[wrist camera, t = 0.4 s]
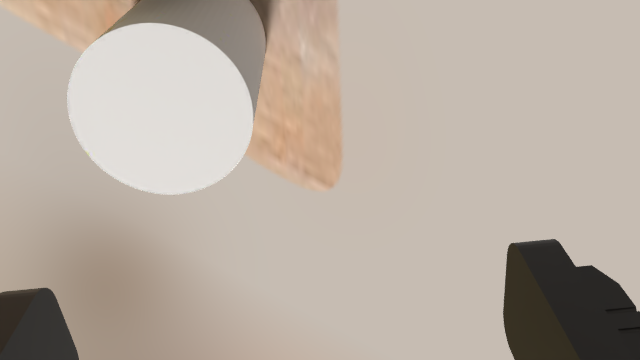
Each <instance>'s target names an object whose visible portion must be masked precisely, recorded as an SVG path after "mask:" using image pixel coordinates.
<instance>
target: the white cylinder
mask: <svg viewBox="0 0 640 360" xmlns="http://www.w3.org/2000/svg"><path fill="white" fill-rule="evenodd" d="M265 51H266V38H265V31H264V27H263V24H262V21H261V19H260V16H259V14H258V12H257V11H256V9H255V7H254V6H253V4H252V3H251V2H250V1H249V0H141V1H139V2H138V3H137V4H136V5H135V6H134V7H133V8H132V9H130V10H129V11H128V12H127V13H126V14H125V15H124V16H123V17H122V18H120V19H119V20H118V21H117V22H116V23H115V24H114V25H113V26H111V27H110V28H109V29H108V30H107V31H106V32H105V33H104V34H102V35H101V36H100V37H99V38H98V39H97V40H96V41H95V42H93V43H92V44H91V45H90V46H89V47H88V48H87V49H86V50H85V51H84V53H83V54H82V55H81V57H80V58H79V60H78V61H77V63H76V65H75V67H74V69H73V71H72V74H71V77H70V81H69V86H68V93H67V105H68V113H69V118H70V122H71V125H72V128H73V131H74V133H75V135H76V137H77V139H78V141H79V143H80V144H81V146H82V147H83V149H84V150H85V152H86V153H87V154H88V156H89V157H90V158H91V159H92V160H93V161H94V162H95V163H96V164H97V165H98V166H99V167H100V168H101V169H102V170H104V171H105V172H106V173H107V174H109V175H111V176H112V177H113V178H115V179H117V180H118V181H120V182H122V183H124V184H126V185H128V186H131V187H133V188H136V189H139V190H142V191H146V192H150V193H157V194H185V193H190V192H194V191H198V190H200V189H204V188H206V187H209V186H211V185H213V184H214V183H216V182H218V181H219V180H221V179H222V178H224V177H225V176H226V175H227V174H229V173H230V172H231V171H232V169H234V168H235V167H236V165H237V164H238V163H239V161H240V160H241V158H242V157H243V155H244V153H245V152H246V149H247V147H248V145H249V142H250V139H251V135H252V129H253V123H254V117H255V111H256V105H257V99H258V94H259V88H260V82H261V76H262V70H263V64H264V58H265Z"/></svg>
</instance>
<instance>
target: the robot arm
mask: <svg viewBox="0 0 640 360" xmlns="http://www.w3.org/2000/svg"><path fill="white" fill-rule="evenodd" d="M504 295H505V296H504V309H503V310H504V311H503V315H504V316H503V317H504V327H505V333H506V337H507V341H508V344H509V347H510V350H511V352H512V354H513V356H514V359H515V360H640V312H639V311H638V312H637V311H636V306H635V305H634V304H633V302H632V301H631V300H630V298H629V297H628V296H627V294H626V293H625V291H624V290H623V289H622V288H621V286H620V285H619V284H618V283H617V282H615V281H614V280H613V279H611V278H609V277H608V276H607V275H605V274H604V273H602V272H601V271H599V270H598V269H596V268H595V267H593V266H592V265H591V266H581V267H576V266H575V265H574V264H573V262H572V260H571V259H570V258H569V256H568V255H567V253H566V252H565V250H564V249H563V247H562V246H561V244H560V243H559V242H558V241H557V240H555V239H551V240H540V241H530V242H520V243H511V244H510V245H509V248H508V252H507V264H506V279H505V294H504ZM0 360H79V358H78V353H77V350H76V347H75V345H74V342H73V340H72V337H71V334H70V332H69V329H68V327H67V324H66V322H65V319H64V317H63V314H62V312H61V309H60V307H59V304H58V302H57V299H56V297H55V295H54V293H53V292H52V291H51V290H50V289H48V288H38V289H28V290H18V291H7V292H2V293H0Z"/></svg>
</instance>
